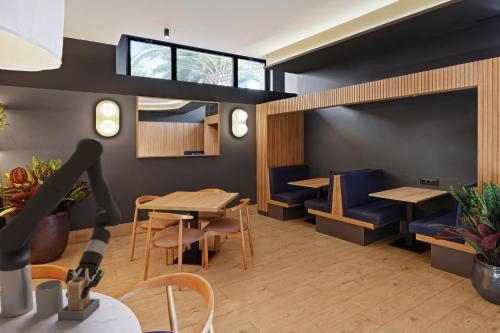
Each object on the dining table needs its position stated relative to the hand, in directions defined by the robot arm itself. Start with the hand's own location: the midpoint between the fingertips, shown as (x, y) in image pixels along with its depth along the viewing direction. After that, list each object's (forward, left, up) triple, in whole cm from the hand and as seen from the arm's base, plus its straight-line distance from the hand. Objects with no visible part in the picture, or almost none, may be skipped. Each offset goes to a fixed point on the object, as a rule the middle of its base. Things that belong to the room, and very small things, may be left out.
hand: (75, 297), depth 108 cm
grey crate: (+1, +1, -7) cm, 7 cm away
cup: (-8, +10, -7) cm, 15 cm away
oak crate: (+1, +1, -5) cm, 6 cm away
